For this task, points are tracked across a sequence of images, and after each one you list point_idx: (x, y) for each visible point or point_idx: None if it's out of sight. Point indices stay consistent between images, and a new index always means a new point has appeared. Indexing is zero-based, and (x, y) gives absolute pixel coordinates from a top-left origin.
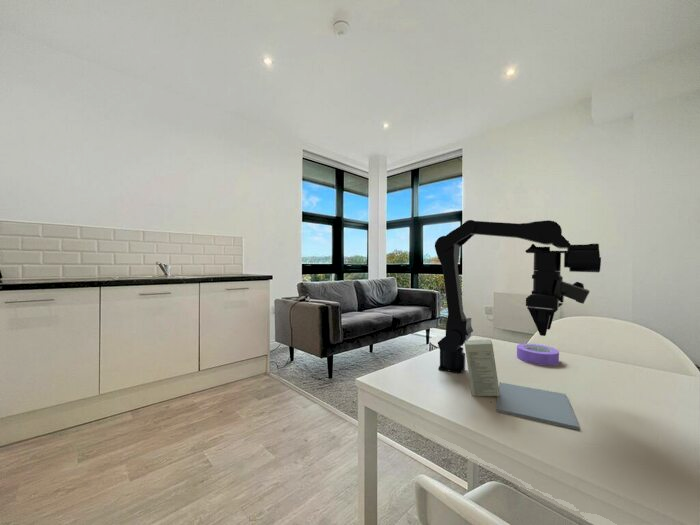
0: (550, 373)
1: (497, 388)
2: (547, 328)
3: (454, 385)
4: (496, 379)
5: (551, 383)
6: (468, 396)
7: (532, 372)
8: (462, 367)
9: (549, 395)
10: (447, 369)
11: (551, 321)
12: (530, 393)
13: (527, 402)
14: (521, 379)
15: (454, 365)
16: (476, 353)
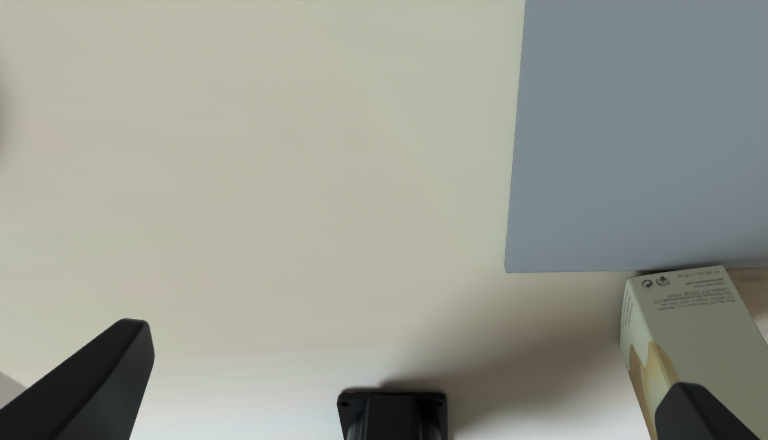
0: (81, 18)
1: (738, 299)
2: (144, 347)
3: (604, 392)
4: (761, 339)
5: (309, 20)
6: None
7: (162, 126)
8: (414, 408)
9: (607, 48)
10: (446, 435)
11: (68, 423)
12: (616, 143)
13: (760, 156)
14: (351, 179)
15: (435, 438)
16: None
